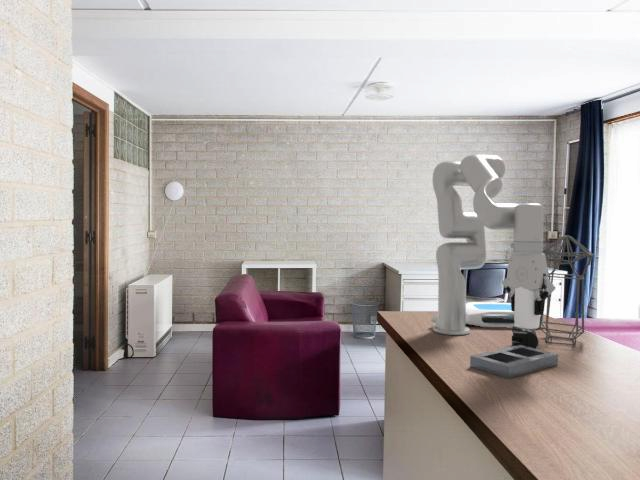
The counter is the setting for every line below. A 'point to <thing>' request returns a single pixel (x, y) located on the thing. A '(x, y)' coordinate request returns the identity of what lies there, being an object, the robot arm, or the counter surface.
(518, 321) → the can
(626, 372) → the counter surface
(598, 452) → the counter surface
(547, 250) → the geometric lantern
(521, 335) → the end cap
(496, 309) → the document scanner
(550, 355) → the grey windowed frame
